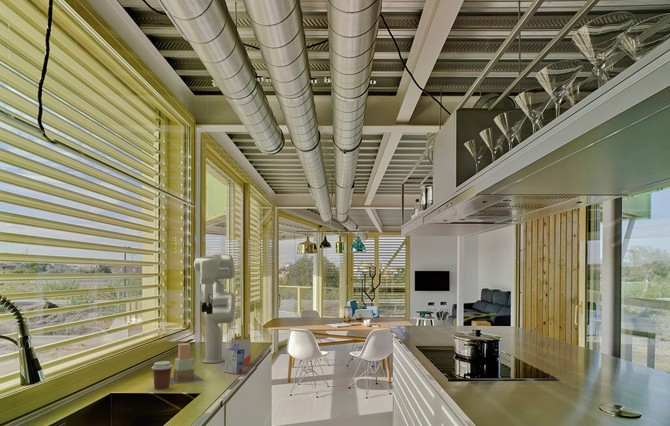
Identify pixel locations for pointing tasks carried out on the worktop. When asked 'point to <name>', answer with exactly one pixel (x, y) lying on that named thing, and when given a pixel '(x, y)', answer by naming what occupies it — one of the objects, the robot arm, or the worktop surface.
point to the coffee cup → (162, 375)
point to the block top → (183, 364)
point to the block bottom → (183, 375)
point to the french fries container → (243, 346)
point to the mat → (196, 378)
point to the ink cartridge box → (234, 360)
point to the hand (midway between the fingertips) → (206, 312)
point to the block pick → (184, 351)
